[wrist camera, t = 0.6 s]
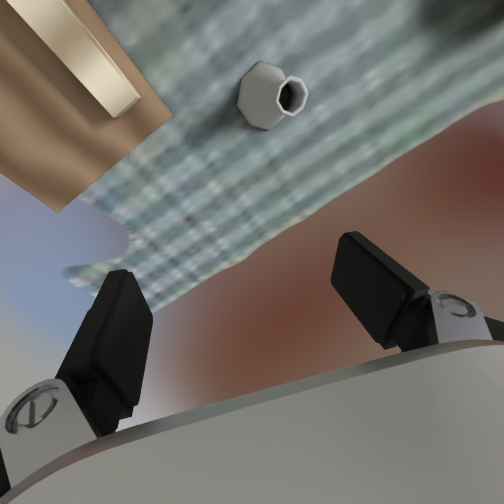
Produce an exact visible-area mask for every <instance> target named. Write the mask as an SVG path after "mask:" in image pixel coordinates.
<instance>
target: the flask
mask: <svg viewBox="0 0 504 504" xmlns="http://www.w3.org/2000/svg"><path fill="white" fill-rule="evenodd" d="M307 95H308V91H307V89H306V87H305V85H304V83H303V81H302V79H299V78H296V77H294V76H291V75H289V76H288V77H287V78H286V77H285V76H284V74H283V72H282V70H281V69H280V68H278V67H275V66H273V65H270V64H268V63H265V62H262V61H260V60H259V61H258V62H257V63H256V65H255V66H254V67H253V68H252V69H251V70H250V71H249V72H248V73H247V74H246V75H245V76H244V77H243V78H242V80H241V86H240V91H239V97H238V102H237V107H238V108H239V109H240V111H241V112H242V114H243V115H244V117H245V118H246V120H247V121H248V122H249V124H250V125H252V126H255V127H259V128H262V129H266V130H271V129H272V128H273V127H274V126H275V125H276V124H277V123H278V122H279V121H280V120H281V119H282V118H283V117H284V116H286V115H287V116H290V117H294V116H295V115H296V114H298V113H299V112H300V111H301V110H302V109H303V108H304V105H305V102H306V99H307Z"/></svg>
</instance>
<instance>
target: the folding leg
mask: <svg viewBox="0 0 504 504" xmlns="http://www.w3.org/2000/svg"><path fill="white" fill-rule="evenodd" d="M7 2H8V3H9V4H10V5H11V6H12V7H13V8H14V9H15V10H16V11H17V13H18V14H19V15H20V16H21V17H22V18H23V19H24V20H25V21H26V22H27V23H28V25H29V26H30V27H31V28H32V29H33V30H34V31H35V32H36V33H37V34H38V36H39V37H40V38H41V39H42V40H43V41H44V42H45V43H46V44H47V45H48V46H49V48H50V49H51V50H52V51H53V52H54V53H55V54H56V55H57V56H58V57H59V59H60V60H61V61H62V62H63V63H64V64H65V65H66V66H67V67H68V68H69V70H70V71H71V72H72V73H73V74H74V75H75V76H76V77H77V78H78V79H79V80H80V82H81V83H82V84H83V85H84V86H85V87H86V88H87V89H88V90H89V91H90V93H91V94H92V95H93V96H94V97H95V98H96V99H97V100H98V101H99V102H100V103H101V105H102V106H103V107H104V108H105V109H106V110H107V111H108V112H109V113H110V114H111V116H112V117H113V118H116V117H120V116H123V115H124V114H125V113H126V112H127V111H128V110H129V109H130V108H132V107H133V106H134V105H135V104H136V103H137V102H138V101H139V100H141V99H142V96H141V95H140V94H139V93H138V91H137V90H136V89H135V88H134V86H133V85H132V84H131V83H130V81H129V80H128V79H127V78H126V76H125V75H124V74H123V72H122V71H121V70H120V69H119V67H118V66H117V65H116V64H115V62H114V61H113V60H112V59H111V57H110V56H109V55H108V54H107V52H106V51H105V50H104V49H103V47H102V46H101V45H100V43H99V42H98V41H97V40H96V38H95V37H94V36H93V35H92V33H91V32H90V31H89V30H88V28H87V27H86V26H85V25H84V23H83V22H82V21H81V19H80V18H79V17H78V16H77V14H76V13H75V12H74V11H73V9H72V8H71V7H70V6H69V4H68V3H67V2H66V1H65V0H7Z"/></svg>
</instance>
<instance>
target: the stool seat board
mask: <svg viewBox="0 0 504 504" xmlns="http://www.w3.org/2000/svg"><path fill="white" fill-rule="evenodd" d="M65 1H66V2H67V3H68V4H69V6H70V7H71V8H72V9H73V11H74V12H75V13H76V14H77V16H78V17H79V18H80V19H81V21H82V22H83V23H84V25H85V26H86V27H87V28H88V30H89V31H90V32H91V33H92V35H93V36H94V37H95V38H96V40H97V41H98V42H99V43H100V45H101V46H102V47H103V49H104V50H105V51H106V52H107V54H108V55H109V56H110V57H111V59H112V60H113V61H114V62H115V64H116V65H117V66H118V67H119V69H120V70H121V71H122V72H123V74H124V75H125V76H126V78H127V79H128V80H129V81H130V83H131V84H132V85H133V86H134V88H135V89H136V90H137V91H138V93H139V94H140V95H141V96H142V99H141V100H139V101H138V102H137V103H136V104H135V105H134V106H133V107H132V108H130V109H129V110H128V111H127V112H126V113H125V114H124V115H123V116H120V117H116V118H113V117H112V116H111V114H110V113H109V112H108V111H107V110H106V109H105V108H104V107H103V106H102V105H101V103H100V102H99V101H98V100H97V99H96V98H95V97H94V96H93V95H92V94H91V93H90V91H89V90H88V89H87V88H86V87H85V86H84V85H83V84H82V83H81V82H80V80H79V79H78V78H77V77H76V76H75V75H74V74H73V73H72V72H71V71H70V70H69V68H68V67H67V66H66V65H65V64H64V63H63V62H62V61H61V60H60V59H59V57H58V56H57V55H56V54H55V53H54V52H53V51H52V50H51V49H50V48H49V46H48V45H47V44H46V43H45V42H44V41H43V40H42V39H41V38H40V37H39V36H38V34H37V33H36V32H35V31H34V30H33V29H32V28H31V27H30V26H29V25H28V23H27V22H26V21H25V20H24V19H23V18H22V17H21V16H20V15H19V14H18V13H17V11H16V10H15V9H14V8H13V7H12V6H11V5H10V4H9V3H8V2H7V0H0V173H2V174H3V175H4V176H6V177H8V178H9V179H10V180H12V181H13V182H15V183H16V184H17V185H19V186H20V187H22V188H23V189H24V190H26V191H27V192H29V193H30V194H32V195H33V196H34V197H36V198H37V199H39V200H40V201H42V202H43V203H44V204H46V205H47V206H49V207H50V208H51V209H53V210H54V211H56V212H59V211H60V210H62V209H63V208H64V207H65V206H66V205H67V204H69V203H70V202H71V201H72V200H73V199H75V198H76V197H77V196H78V195H79V194H80V193H82V192H83V191H84V190H85V189H86V188H88V187H89V186H90V185H91V184H92V183H93V182H95V181H96V180H97V179H98V178H99V177H100V176H102V175H103V174H104V173H105V172H106V171H108V170H109V169H110V168H111V167H112V166H113V165H115V164H116V163H117V162H118V161H119V160H121V159H122V158H123V157H124V156H125V155H126V154H128V153H129V152H130V151H131V150H132V149H134V148H135V147H136V146H137V145H138V144H139V143H141V142H142V141H143V140H144V139H145V138H146V137H148V136H149V135H150V134H151V133H152V132H154V131H155V130H156V129H157V128H158V127H159V126H161V125H162V124H163V123H164V122H165V121H167V120H168V119H169V118H170V117H171V116H172V115H173V114H172V113H171V112H170V110H169V109H168V107H167V106H166V105H165V103H164V102H163V101H162V99H161V98H160V97H159V95H158V94H157V93H156V91H155V90H154V89H153V87H152V86H151V85H150V83H149V82H148V81H147V79H146V78H145V77H144V75H143V74H142V73H141V71H140V70H139V69H138V67H137V66H136V65H135V63H134V62H133V61H132V59H131V58H130V57H129V55H128V54H127V53H126V51H125V50H124V49H123V47H122V46H121V45H120V43H119V42H118V41H117V39H116V38H115V37H114V35H113V34H112V33H111V31H110V30H109V29H108V27H107V26H106V25H105V23H104V22H103V21H102V19H101V18H100V17H99V15H98V14H97V13H96V11H95V10H94V9H93V7H92V6H91V5H90V3H89V2H88V1H87V0H65Z"/></svg>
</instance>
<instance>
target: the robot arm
mask: <svg viewBox="0 0 504 504" xmlns="http://www.w3.org/2000/svg"><path fill="white" fill-rule="evenodd" d="M331 284H332V286H333V287H334V288H335V290H336V291H337V292H338V293H339V295H340V296H341V297H342V299H343V300H344V301H345V303H346V304H347V305H348V307H349V308H350V309H351V310H352V312H353V313H354V315H355V316H356V317H357V318H358V320H359V321H360V322H361V324H362V325H363V326H364V328H365V329H366V330H367V332H368V333H369V334H370V335H371V337H372V338H373V339H374V340H375V342H377V343H380V345H381V346H382V347H383V348H384V349H385V350H386V349H389V348H393V347H396V346H397V345H398V346H399V348H400V349H401V353H399V354H395V355H391V356H387V357H384V358H380V359H376V360H372V361H369V362H365V363H361V364H358V365H354V366H350V367H346V368H342V369H338V370H335V371H331V372H327V373H324V374H320V375H316V376H312V377H309V378H305V379H301V380H297V381H294V382H290V383H287V384H283V385H279V386H275V387H272V388H268V389H264V390H261V391H257V392H253V393H250V394H246V395H242V396H239V397H235V398H231V399H228V400H224V401H220V402H217V403H213V404H210V405H206V406H202V407H199V408H195V409H192V410H188V411H184V412H181V413H177V414H174V415H171V416H167V417H164V418H160V419H157V420H153V421H150V422H147V423H144V424H140V425H136V426H133V427H130V428H127V429H124V430H121V431H118V432H116V431H115V430H116V429H117V428H118V424H119V420H120V419H124V418H128V417H132V412H133V408H134V406H136V405H138V403H139V399H140V394H141V387H142V382H143V376H144V371H145V365H146V358H147V353H148V348H149V341H150V336H151V330H152V324H153V316H152V313H151V311H150V309H149V307H148V304H147V302H146V300H145V298H144V296H143V294H142V292H141V289H140V287H139V285H138V283H137V281H136V279H135V277H134V274H133V273H132V272H128V271H127V270H126V269H122V270H116V271H110V272H109V273H108V274H107V276H106V278H105V280H104V282H103V284H102V287H101V289H100V291H99V293H98V295H97V297H96V299H95V301H94V303H93V305H92V307H91V309H90V310H89V311H88V312H87V314H86V316H85V318H84V320H83V322H82V324H81V326H80V328H79V330H78V332H77V334H76V336H75V338H74V340H73V342H72V344H71V346H70V348H69V350H68V352H67V354H66V356H65V358H64V360H63V362H62V364H61V366H60V368H59V370H58V373H57V375H56V377H55V378H54V379H48V380H45V381H42V382H39V383H37V384H35V385H33V386H32V387H30V388H28V389H27V390H25V391H24V392H23V393H22V394H20V395H19V396H18V397H17V398H16V399H15V400H14V401H13V402H12V403H11V404H10V405H9V406H8V407H7V409H6V410H5V412H4V413H3V415H2V416H1V418H0V504H504V322H501V321H498V320H494V319H491V318H488V317H485V316H483V314H482V312H481V310H480V309H479V307H478V306H477V305H476V304H474V303H473V302H472V301H471V300H469V299H467V298H466V297H464V296H461V295H459V294H456V293H453V292H448V291H437V292H435V293H433V294H432V295H429V294H428V293H427V292H428V290H429V289H430V288H429V287H428V286H427V285H425V284H424V283H423V282H422V281H420V280H419V279H417V277H415V276H414V275H413V274H411V273H410V272H409V271H408V270H406V269H405V268H404V267H402V266H401V265H400V264H399V263H397V262H396V261H395V260H394V259H392V258H391V257H390V256H389V255H387V254H386V253H385V252H383V251H382V250H381V249H380V248H378V247H377V246H376V245H374V244H373V243H372V242H370V241H369V240H368V239H367V238H366V237H364V236H363V235H362V234H360V233H359V232H357V231H353V232H348V233H344V234H343V235H342V237H340V239H339V243H338V248H337V252H336V257H335V262H334V267H333V271H332V275H331Z"/></svg>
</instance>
